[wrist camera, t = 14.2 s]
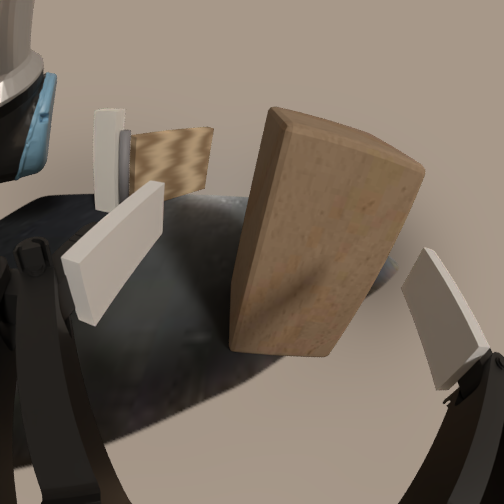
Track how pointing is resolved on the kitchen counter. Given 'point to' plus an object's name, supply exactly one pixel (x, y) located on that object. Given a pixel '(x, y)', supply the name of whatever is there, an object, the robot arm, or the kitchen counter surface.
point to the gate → (171, 160)
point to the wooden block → (315, 232)
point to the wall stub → (110, 158)
